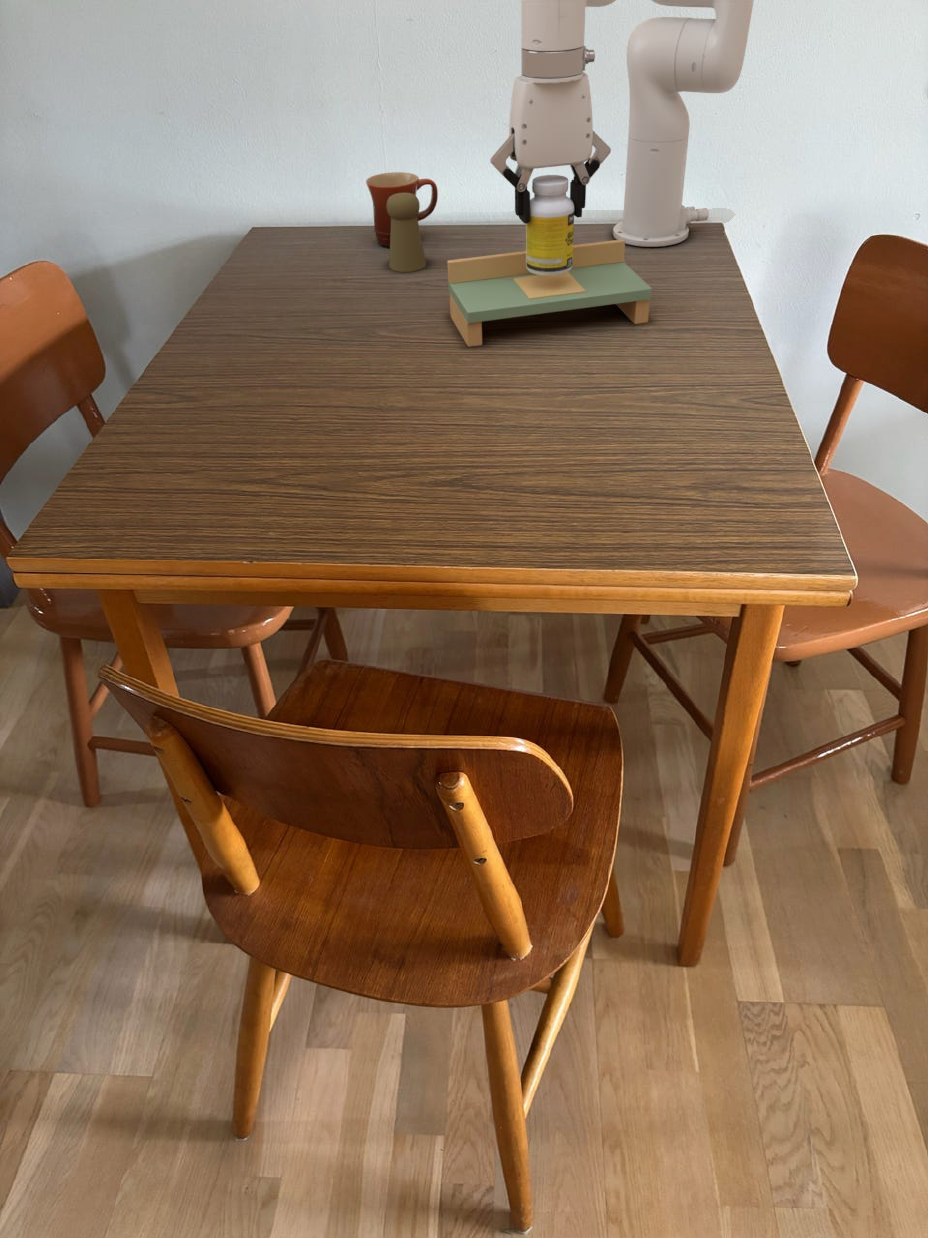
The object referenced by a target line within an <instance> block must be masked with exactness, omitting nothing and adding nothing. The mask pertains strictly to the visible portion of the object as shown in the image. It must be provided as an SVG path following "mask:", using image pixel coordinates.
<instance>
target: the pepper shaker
mask: <svg viewBox="0 0 928 1238" xmlns="http://www.w3.org/2000/svg"><path fill="white" fill-rule="evenodd" d="M386 206H387V211H388V214H389V215H390V217H391V236H390V248H389V265H388V267H389V269H390V270H392V271H394V272H400V273H410V272H417V271H420V270H422V269H424V268H425V267H426V266H427V261H426V260H427V259H426V256H425V251H424V250H425V249H424V245H423V240H422V235H421V231H420V225H419V221H418V220H417V215H418V213H419V212H420V207H421V206H420V201H419V198H418V197H417V194H416V195H414V194H412V193H397V194H393V195H392V196H390V197H389V198H388V201H387V205H386Z"/></svg>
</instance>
